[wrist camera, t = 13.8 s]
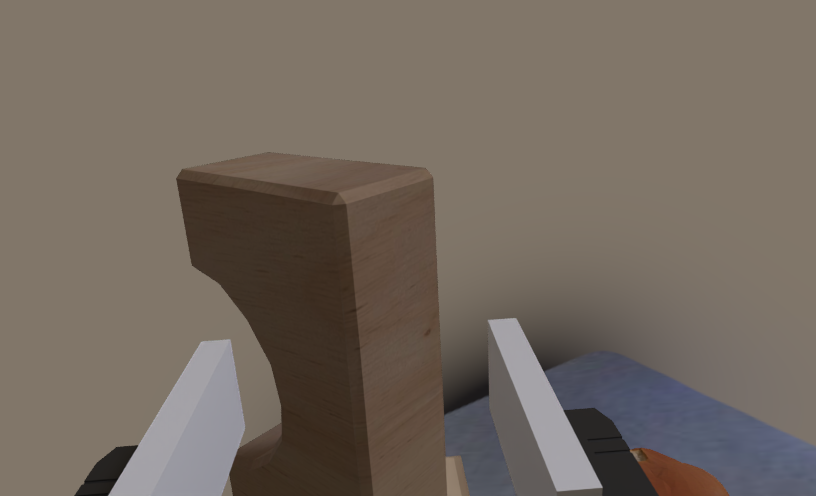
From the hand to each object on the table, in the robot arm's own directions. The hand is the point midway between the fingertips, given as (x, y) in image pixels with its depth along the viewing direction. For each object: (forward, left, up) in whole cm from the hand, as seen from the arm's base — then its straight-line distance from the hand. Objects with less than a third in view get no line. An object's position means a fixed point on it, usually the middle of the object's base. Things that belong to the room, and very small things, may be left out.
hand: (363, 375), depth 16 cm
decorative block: (-3, +11, -16) cm, 20 cm away
